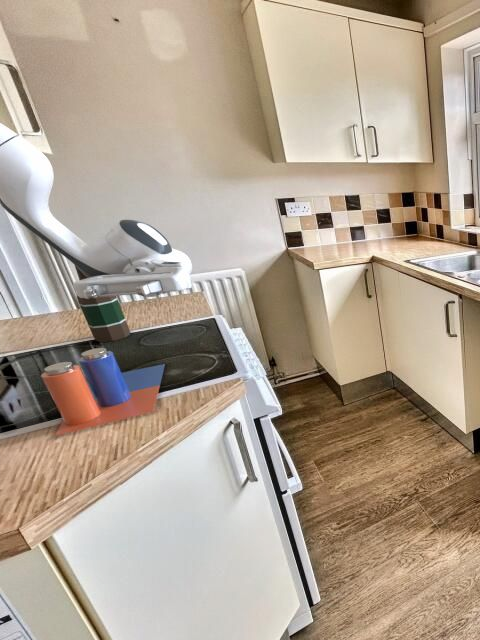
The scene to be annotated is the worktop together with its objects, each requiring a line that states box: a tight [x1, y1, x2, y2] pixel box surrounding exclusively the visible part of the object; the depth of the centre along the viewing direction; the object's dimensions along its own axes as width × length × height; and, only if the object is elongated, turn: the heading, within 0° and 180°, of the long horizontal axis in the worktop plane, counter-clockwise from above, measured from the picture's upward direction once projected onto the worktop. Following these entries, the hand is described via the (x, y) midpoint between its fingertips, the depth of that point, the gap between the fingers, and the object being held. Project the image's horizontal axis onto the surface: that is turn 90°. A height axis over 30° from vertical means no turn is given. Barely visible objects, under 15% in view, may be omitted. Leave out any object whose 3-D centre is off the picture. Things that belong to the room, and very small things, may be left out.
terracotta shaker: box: [40, 361, 101, 425], centre depth 78 cm, size 5×5×11 cm
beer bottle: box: [74, 265, 131, 343], centre depth 115 cm, size 8×8×24 cm
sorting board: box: [54, 363, 166, 437], centre depth 88 cm, size 14×26×1 cm, turn 33°
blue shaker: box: [78, 347, 131, 407], centre depth 84 cm, size 5×5×11 cm
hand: (114, 293), depth 89 cm, fingers open, 8 cm apart
